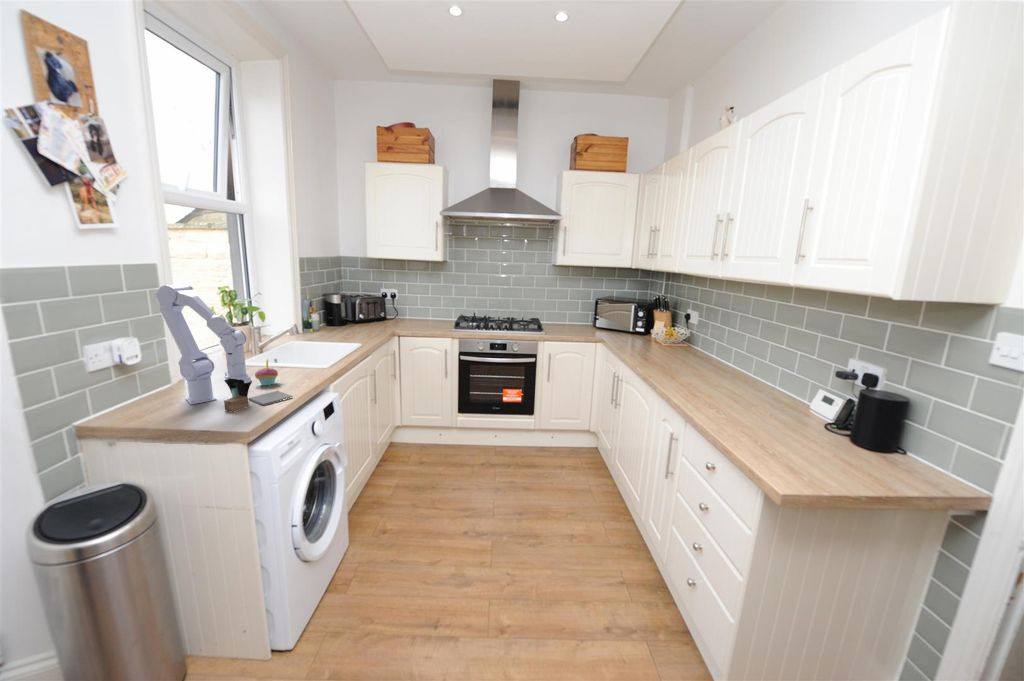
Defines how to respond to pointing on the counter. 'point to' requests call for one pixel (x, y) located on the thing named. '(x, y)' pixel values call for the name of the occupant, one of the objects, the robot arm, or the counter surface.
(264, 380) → the cupcake
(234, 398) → the walnut block
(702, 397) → the counter surface
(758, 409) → the counter surface
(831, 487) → the counter surface
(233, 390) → the teal block
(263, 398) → the slate coaster
